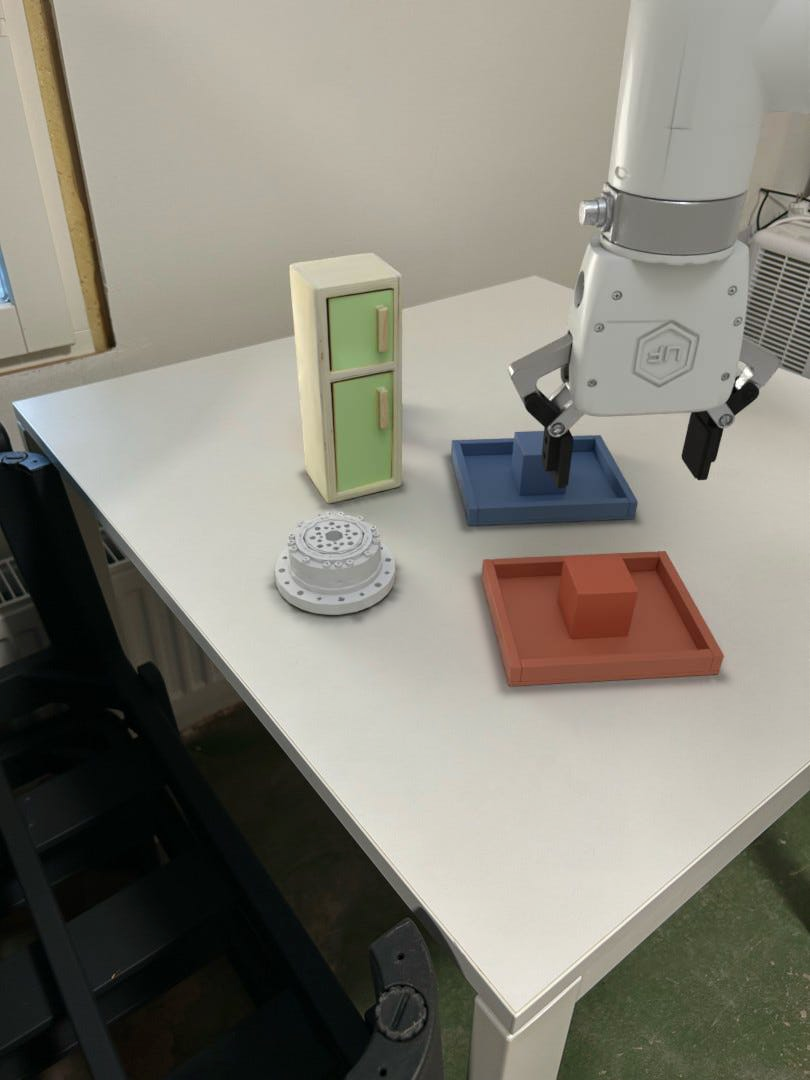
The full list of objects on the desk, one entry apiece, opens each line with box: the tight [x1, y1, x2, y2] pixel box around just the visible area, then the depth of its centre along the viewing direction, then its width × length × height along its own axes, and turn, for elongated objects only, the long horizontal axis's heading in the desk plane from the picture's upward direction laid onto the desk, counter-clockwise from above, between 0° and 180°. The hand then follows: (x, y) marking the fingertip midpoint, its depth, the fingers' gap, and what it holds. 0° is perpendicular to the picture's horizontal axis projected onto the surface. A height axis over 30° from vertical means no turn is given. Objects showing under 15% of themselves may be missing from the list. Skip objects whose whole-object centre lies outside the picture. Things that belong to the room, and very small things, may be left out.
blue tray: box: [450, 434, 639, 527], centre depth 80 cm, size 16×13×2 cm
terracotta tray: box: [480, 550, 725, 687], centre depth 64 cm, size 16×13×2 cm
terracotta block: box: [557, 555, 638, 639], centre depth 63 cm, size 4×4×4 cm
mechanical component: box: [274, 511, 397, 616], centre depth 68 cm, size 10×4×10 cm
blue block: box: [511, 430, 566, 496], centre depth 79 cm, size 4×4×4 cm
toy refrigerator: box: [288, 252, 403, 504], centre depth 75 cm, size 8×7×21 cm
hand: (625, 473), depth 57 cm, fingers open, 9 cm apart
